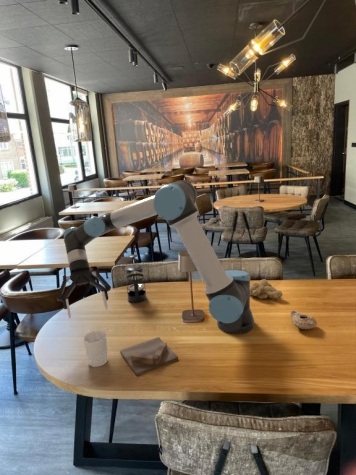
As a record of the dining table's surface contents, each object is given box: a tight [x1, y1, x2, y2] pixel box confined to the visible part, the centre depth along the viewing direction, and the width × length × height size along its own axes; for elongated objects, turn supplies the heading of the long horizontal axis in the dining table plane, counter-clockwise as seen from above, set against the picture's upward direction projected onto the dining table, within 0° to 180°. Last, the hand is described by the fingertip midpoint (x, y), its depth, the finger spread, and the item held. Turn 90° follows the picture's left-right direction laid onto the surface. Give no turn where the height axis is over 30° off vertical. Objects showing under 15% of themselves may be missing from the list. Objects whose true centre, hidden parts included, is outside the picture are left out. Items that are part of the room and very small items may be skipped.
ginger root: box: [250, 278, 283, 300], centre depth 165 cm, size 16×16×8 cm
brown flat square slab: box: [119, 336, 179, 377], centre depth 123 cm, size 16×16×3 cm
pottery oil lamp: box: [290, 310, 318, 331], centre depth 137 cm, size 9×12×7 cm
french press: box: [124, 254, 148, 304], centre depth 168 cm, size 12×9×23 cm
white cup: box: [82, 330, 108, 368], centre depth 121 cm, size 8×8×10 cm
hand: (88, 312), depth 128 cm, fingers open, 13 cm apart
